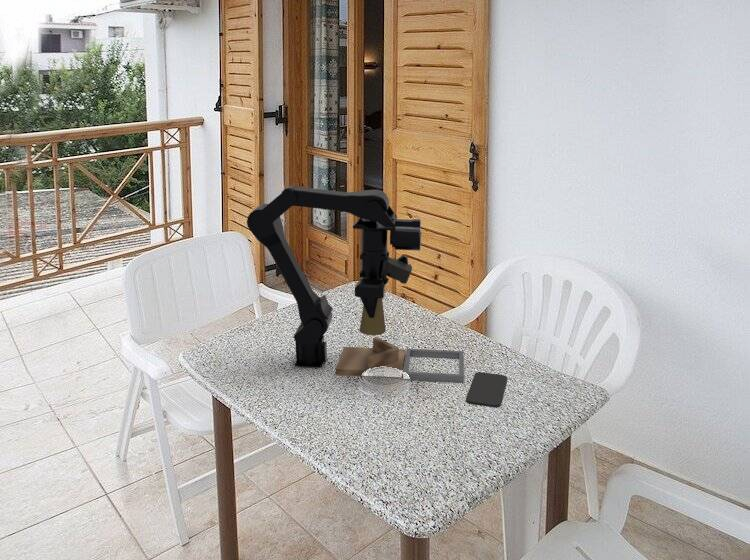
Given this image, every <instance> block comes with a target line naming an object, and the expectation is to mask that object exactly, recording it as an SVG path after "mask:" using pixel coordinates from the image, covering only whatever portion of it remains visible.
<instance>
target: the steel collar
mask: <svg viewBox="0 0 750 560" xmlns="http://www.w3.org/2000/svg"><path fill="white" fill-rule="evenodd" d="M405 350H406V356H405V362H404V368H403V372H406V373H407V374H408V375H409V377H410V379H411V380H410V381H425V382H427V381H428V382H445V383H446V382H448V383H465V365H464V363H465V362H464V361H465V359H464V357H465V356H464V354H465V353H464V350H444V349H443V350H442V349H427V348H425V349H424V348H423V349H421V348H406V349H405ZM411 357H421V358H426V357H427V358H440V359H442V358H443V359H458V373H446V372H445V373H441V372H424V371H423V372H422V371H421V372H420V371H409V369H410V368H409V367H410V362H411Z"/></svg>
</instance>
